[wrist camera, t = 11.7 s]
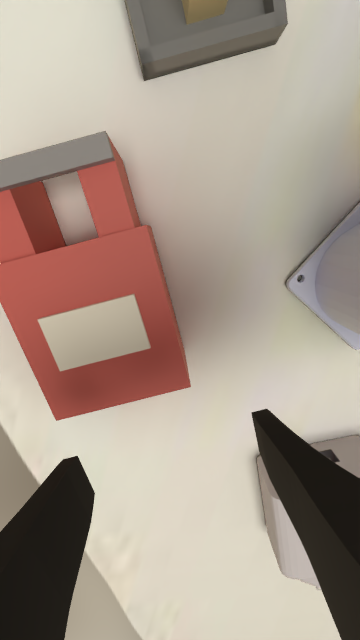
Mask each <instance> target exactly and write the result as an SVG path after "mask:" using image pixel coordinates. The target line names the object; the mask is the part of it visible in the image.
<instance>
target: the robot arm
mask: <svg viewBox="0 0 360 640" xmlns="http://www.w3.org/2000/svg"><path fill="white" fill-rule="evenodd" d="M299 275H302V279H301V280H300V281H297V278H298V276H299ZM286 286H287V288H288V289H289V290H290V291H291V292H292V293H293V294H294V295H295V296H296V297H297V298H298V299H300V300H301V301H302V302H303V303H304V304H305V305H306V306H307V307H308V308H309V309H310V310H311V311H313V312H314V313H315V314H316V315H317V316H318V317H319V318H320V319H321V320H322V321H323V322H324V323H326V324H327V325H328V326H329V327H330V328H331V329H332V330H333V331H334V332H335V333H336V334H337V335H339V336H340V337H341V338H342V339H343V340H344V341H345V342H346V343H347V344H348V345H349V346H351V347H352V348H354V349H355V350H359V349H360V202H359V203H358V205H357V206H356V207H355V208H354V209H353V210H352V211H351V212H350V213H349V214H348V215H347V216H346V217H345V219H344V220H343V221H342V222H341V223H340V224H339V225H338V226H337V227H336V228H335V229H334V230H333V231H332V233H331V234H330V235H329V236H328V237H327V238H326V239H325V240H324V241H323V242H322V243H321V244H320V245H319V247H318V248H317V249H316V250H315V251H314V252H313V253H312V254H311V255H310V256H309V257H308V258H307V259H306V261H305V262H304V263H303V264H302V265H301V266H300V267H299V268H298V269H297V270H296V271H295V272H294V274H293V275H292V276H291V277H290V278H289V279H288V280H287V283H286ZM252 418H253V423H254V427H255V432H256V437H257V442H258V447H259V452H260V455H261V458H262V460H263V463H264V466H265V468H266V471H267V473H268V476H269V478H270V480H271V483H272V485H273V487H274V489H275V491H276V493H277V495H278V497H279V499H280V501H281V503H282V505H283V506H284V508H285V510H286V512H287V514H288V516H289V518H290V520H291V522H292V524H293V526H294V528H295V530H296V532H297V534H298V536H299V538H300V540H301V542H302V545H303V547H304V549H305V551H306V553H307V556H308V558H309V560H310V563H311V565H312V568H313V570H314V573H315V575H316V577H317V580H318V582H319V585H320V587H321V590H322V592H323V595H324V597H325V599H326V602H327V604H328V607H329V609H330V612H331V614H332V617H333V619H334V622H335V624H336V627H337V629H338V632H339V634H340V637H341V639H342V640H360V478H358V477H357V476H355V475H354V474H352V473H350V472H349V471H347V470H345V469H344V468H342V467H341V466H339V465H338V464H336V463H335V462H333V461H332V460H330V459H329V458H327V457H326V456H324V455H323V454H322V453H320V452H319V451H317V450H316V449H315V448H313V447H312V446H311V445H309V444H308V443H307V442H305V441H304V440H303V439H302V438H300V437H299V436H298V435H296V434H295V433H294V432H293V431H292V430H290V429H289V428H288V427H287V426H286V425H285V424H283V423H282V422H281V421H280V420H279V419H278V418H277V417H276V416H275V415H274V414H272V413H271V412H270V411H269V410H268V409H264V410H260V411H256V412H252ZM94 495H95V493H94V490H93V488H92V486H91V484H90V482H89V480H88V477H87V475H86V473H85V471H84V469H83V467H82V465H81V462H80V460H79V458H78V456H75V457H71V458H67V459H63V460H62V461H61V462H60V463H59V464H58V466H57V467H56V468H55V469H54V470H53V471H52V473H51V474H50V475H49V476H48V477H47V479H46V480H45V481H44V482H43V483H42V485H41V486H40V487H39V488H38V489H37V491H36V492H35V493H34V494H33V495H32V496H31V498H30V499H29V500H28V501H27V502H26V504H25V505H24V506H23V507H22V508H21V509H20V511H19V512H18V513H17V514H16V515H15V516H14V517H13V518H12V520H11V521H10V522H9V523H8V524H7V525H6V526H5V527H4V528H3V530H2V531H1V532H0V640H64V638H65V632H66V626H67V620H68V615H69V609H70V605H71V600H72V596H73V591H74V587H75V584H76V580H77V576H78V572H79V568H80V564H81V560H82V556H83V552H84V548H85V544H86V540H87V536H88V532H89V528H90V524H91V518H92V512H93V504H94Z"/></svg>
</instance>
